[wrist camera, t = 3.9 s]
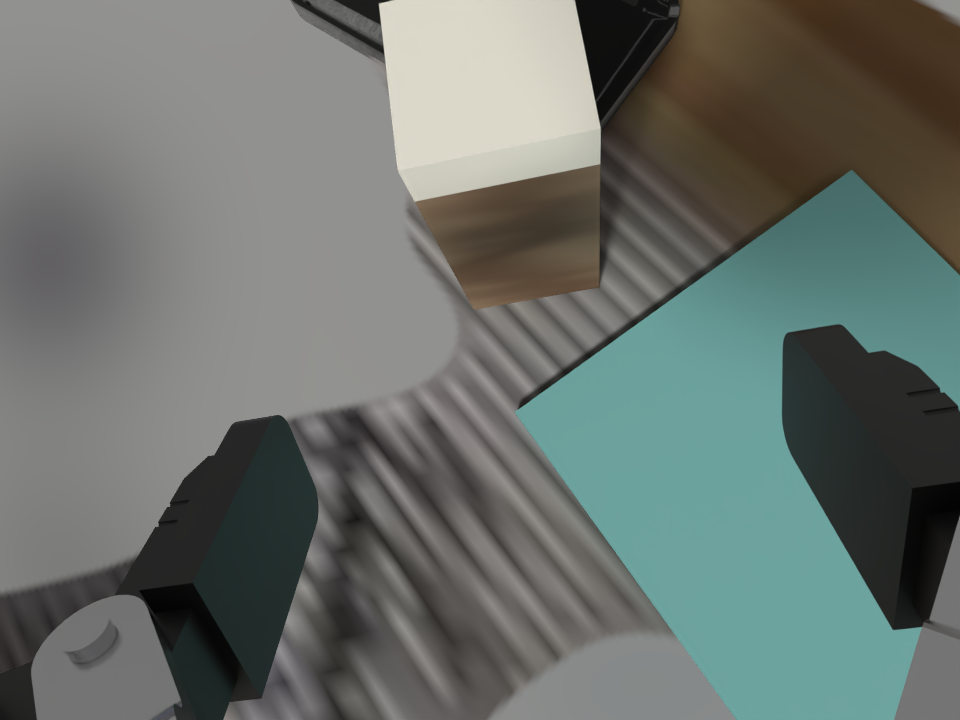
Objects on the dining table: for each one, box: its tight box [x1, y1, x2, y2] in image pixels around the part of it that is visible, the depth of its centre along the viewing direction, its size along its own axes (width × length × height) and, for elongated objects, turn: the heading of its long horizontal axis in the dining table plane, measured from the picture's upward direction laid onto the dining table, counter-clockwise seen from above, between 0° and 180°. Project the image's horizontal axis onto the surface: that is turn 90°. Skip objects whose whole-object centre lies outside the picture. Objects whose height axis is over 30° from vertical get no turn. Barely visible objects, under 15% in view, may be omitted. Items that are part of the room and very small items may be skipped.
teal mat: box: [515, 170, 960, 720], centre depth 21 cm, size 18×14×1 cm
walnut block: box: [379, 0, 601, 310], centre depth 21 cm, size 4×4×10 cm
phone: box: [291, 0, 680, 131], centre depth 28 cm, size 8×1×15 cm
